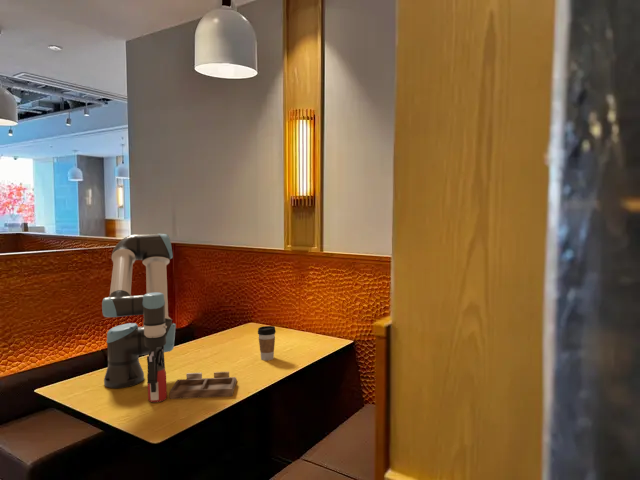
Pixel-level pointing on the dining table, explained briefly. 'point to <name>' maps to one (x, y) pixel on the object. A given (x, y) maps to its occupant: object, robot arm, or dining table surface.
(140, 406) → the dining table surface
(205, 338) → the dining table surface
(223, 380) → the brown desk organizer
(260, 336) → the coffee cup
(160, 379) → the beer can
